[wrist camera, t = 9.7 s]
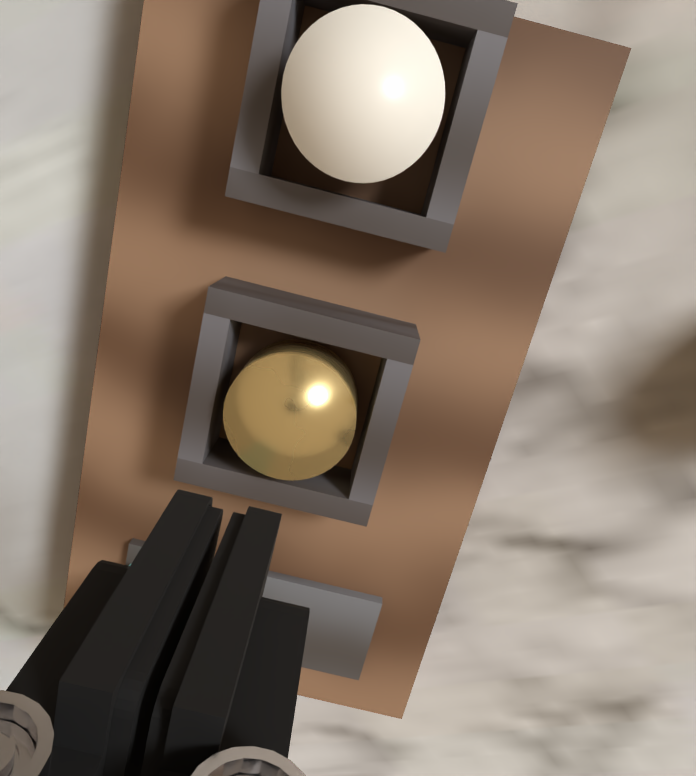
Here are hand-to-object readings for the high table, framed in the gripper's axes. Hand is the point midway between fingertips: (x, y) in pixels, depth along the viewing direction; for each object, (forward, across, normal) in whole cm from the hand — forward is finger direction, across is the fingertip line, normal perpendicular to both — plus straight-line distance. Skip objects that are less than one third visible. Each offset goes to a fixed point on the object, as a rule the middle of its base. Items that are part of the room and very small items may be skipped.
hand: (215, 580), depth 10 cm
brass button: (+11, 0, +1) cm, 11 cm away
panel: (+15, 0, +1) cm, 15 cm away
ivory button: (+11, 0, -8) cm, 13 cm away
